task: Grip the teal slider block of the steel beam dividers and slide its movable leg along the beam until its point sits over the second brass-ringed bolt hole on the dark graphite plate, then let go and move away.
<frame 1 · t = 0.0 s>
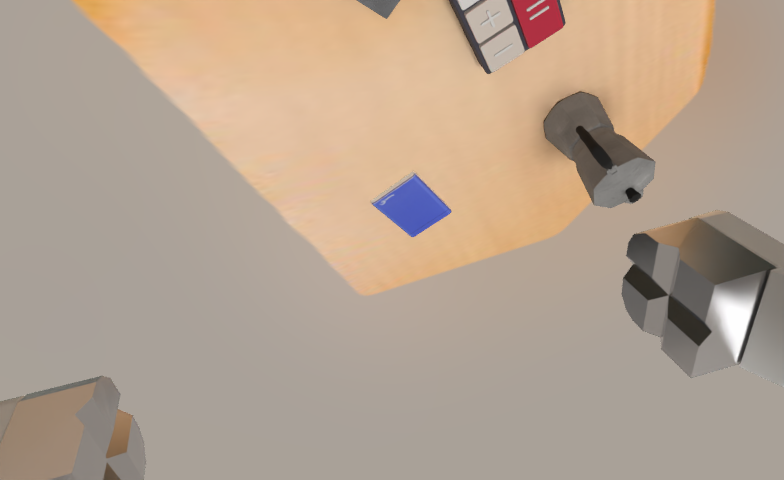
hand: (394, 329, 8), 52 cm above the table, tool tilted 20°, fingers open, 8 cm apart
coffeepot: (566, 112, 82), on the table
hard drive: (410, 201, 88), on the table
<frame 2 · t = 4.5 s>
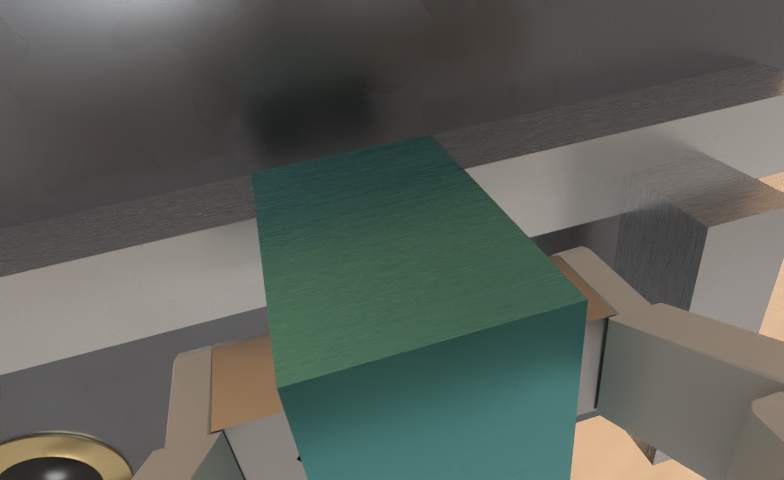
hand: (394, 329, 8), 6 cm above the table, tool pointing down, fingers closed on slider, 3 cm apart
slider: (396, 394, 11), point 5 cm above the table, slide at 7.0 cm, touching gripper
hole plate: (311, 276, 15), on the table
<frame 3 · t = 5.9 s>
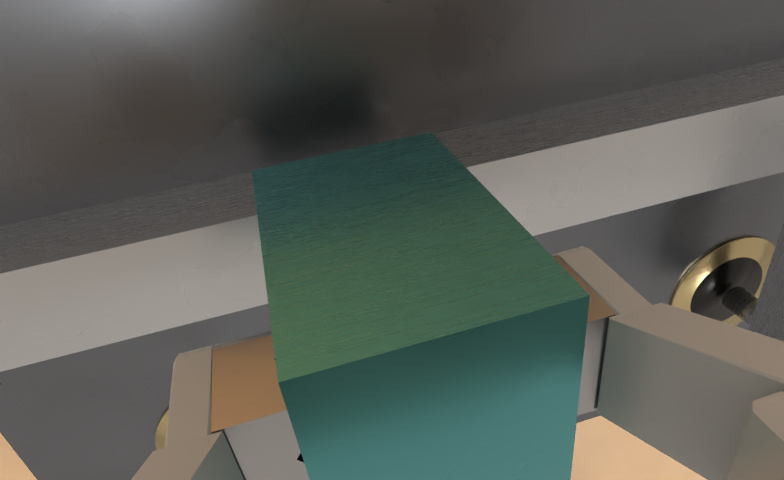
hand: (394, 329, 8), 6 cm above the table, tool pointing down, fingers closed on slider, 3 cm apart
slider: (396, 393, 11), point 5 cm above the table, slide at 11.9 cm, touching gripper
hole plate: (474, 234, 16), on the table
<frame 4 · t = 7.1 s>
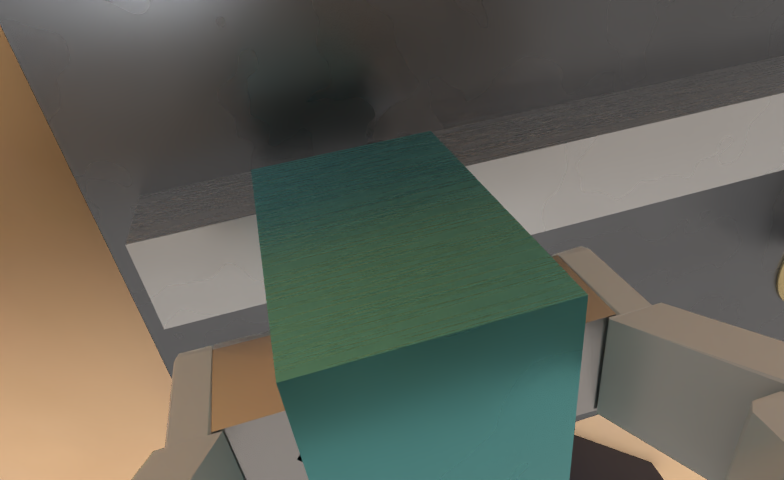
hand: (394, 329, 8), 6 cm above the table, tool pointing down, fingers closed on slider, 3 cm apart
slider: (396, 392, 11), point 5 cm above the table, slide at 15.9 cm, touching gripper
hole plate: (601, 200, 17), on the table
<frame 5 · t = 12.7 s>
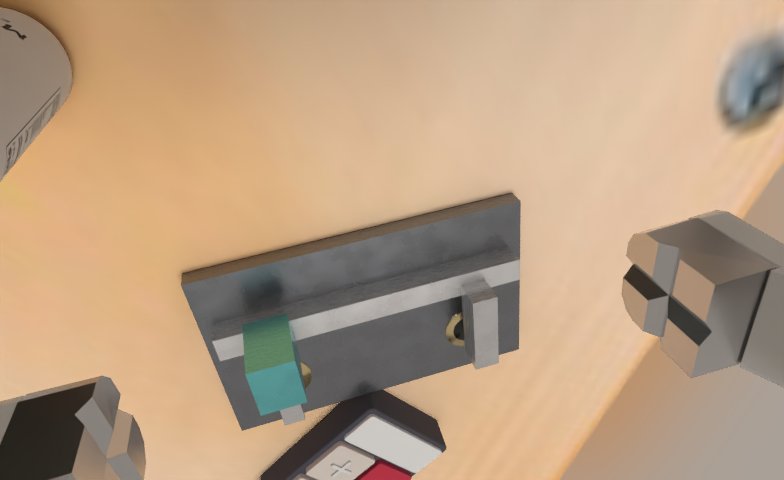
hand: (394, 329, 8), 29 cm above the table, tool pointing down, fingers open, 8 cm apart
energy drink can: (15, 61, 30), on the table
slider: (281, 377, 40), point 5 cm above the table, slide at 16.0 cm
hole plate: (369, 310, 46), on the table
calculator: (349, 444, 55), on the table
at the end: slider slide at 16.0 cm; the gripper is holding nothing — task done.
